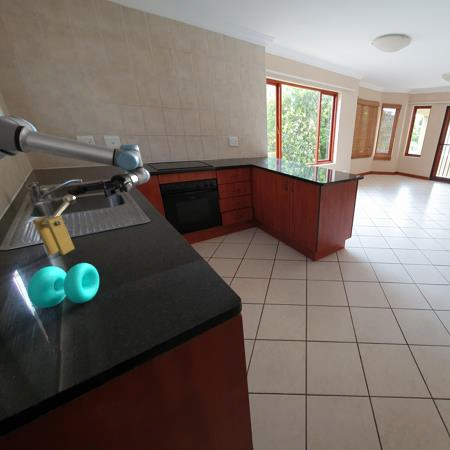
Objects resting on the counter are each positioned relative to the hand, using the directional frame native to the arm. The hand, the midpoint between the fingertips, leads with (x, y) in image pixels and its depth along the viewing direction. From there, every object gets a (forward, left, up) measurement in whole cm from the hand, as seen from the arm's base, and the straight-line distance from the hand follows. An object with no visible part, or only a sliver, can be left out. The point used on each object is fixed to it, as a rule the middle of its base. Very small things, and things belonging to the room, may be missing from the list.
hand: (87, 193), depth 91 cm
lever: (-4, -11, -4) cm, 12 cm away
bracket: (-5, -17, -17) cm, 24 cm away
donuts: (+10, -46, -17) cm, 50 cm away
